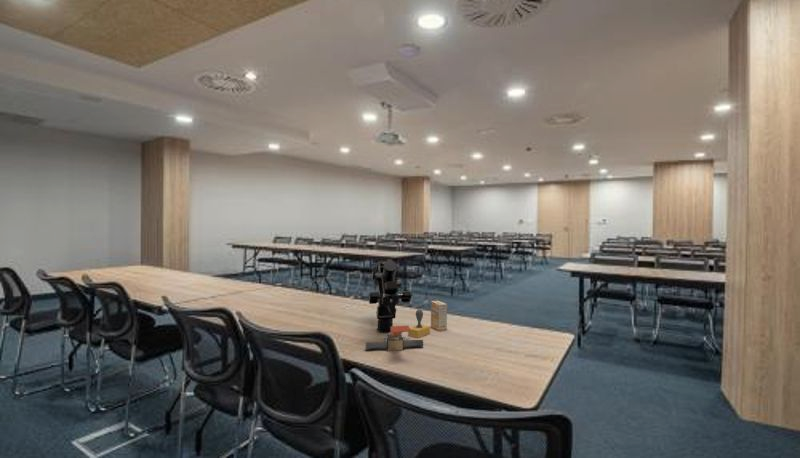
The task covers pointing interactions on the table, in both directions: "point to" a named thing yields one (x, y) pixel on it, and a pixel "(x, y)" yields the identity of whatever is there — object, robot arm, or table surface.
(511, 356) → the table surface
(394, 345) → the pipe valve
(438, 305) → the supplement box
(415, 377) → the table surface
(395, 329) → the lever
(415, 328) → the rubber stamp
